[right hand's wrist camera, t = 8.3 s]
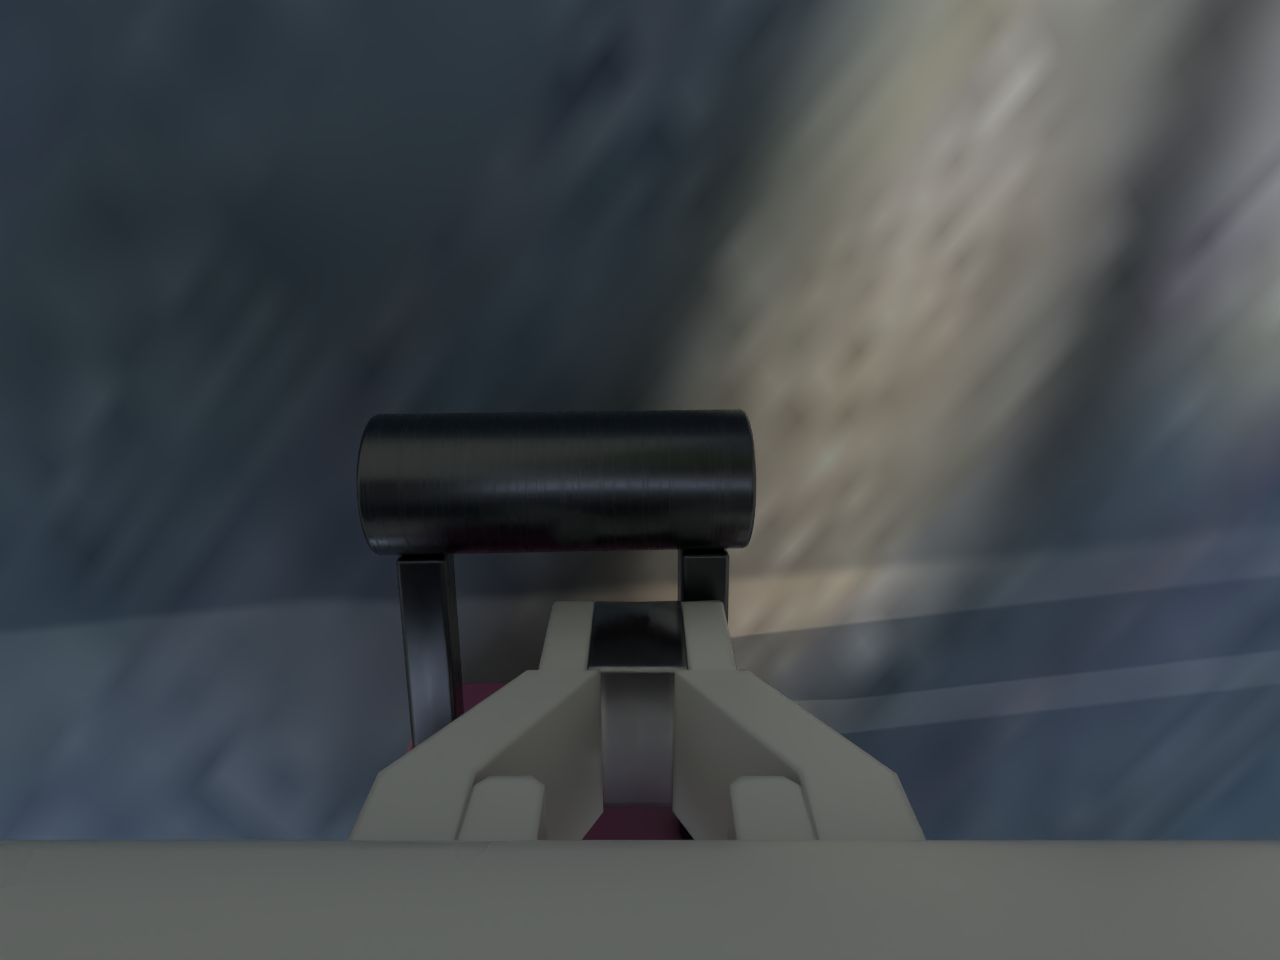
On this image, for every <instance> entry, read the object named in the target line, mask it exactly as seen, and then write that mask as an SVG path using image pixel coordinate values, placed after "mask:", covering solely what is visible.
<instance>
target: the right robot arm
mask: <svg viewBox="0 0 1280 960" xmlns="http://www.w3.org/2000/svg"><path fill="white" fill-rule="evenodd" d="M612 807H663V808H672V811H673V812H674V814H675V815H676V816H677V818H678V819H679V820H680V822H681V823H682V824H683V826H684V827H685V828H686V830H687V831H688V832H689V834H690V835H691V836H692V838H693V839H694V840H582V839H583V838H584V836H585V835H586V834H587V832H588V831H589V830H590V828H591V827H592V826H593V825H594V823H595V822H596V821H597V819H598V818H599V817H600V815H601V814H602V813H603V808H612ZM0 960H1280V840H926V839H925V836H924V834H923V832H922V830H921V827H920V825H919V823H918V821H917V818H916V816H915V814H914V812H913V809H912V807H911V805H910V803H909V800H908V798H907V796H906V794H905V791H904V789H903V787H902V785H901V782H900V780H899V778H898V776H897V774H896V773H895V772H894V771H892V770H891V769H889V768H888V767H886V766H885V765H883V764H882V763H881V762H879V761H878V760H876V759H875V758H873V757H872V756H871V755H869V754H868V753H866V752H865V751H863V750H862V749H861V748H859V747H858V746H856V745H855V744H853V743H852V742H851V741H849V740H848V739H846V738H845V737H843V736H842V735H841V734H839V733H838V732H836V731H835V730H833V729H832V728H830V727H829V726H828V725H826V724H825V723H823V722H822V721H820V720H819V719H818V718H816V717H815V716H813V715H812V714H810V713H809V712H808V711H806V710H805V709H803V708H802V707H800V706H799V705H798V704H796V703H795V702H793V701H792V700H790V699H789V698H788V697H786V696H785V695H783V694H782V693H780V692H779V691H777V690H776V689H775V688H773V687H772V686H770V685H769V684H767V683H766V682H765V681H763V680H762V679H760V678H759V677H757V676H756V675H755V674H753V673H752V672H750V671H749V670H737V668H736V663H735V658H734V653H733V649H732V644H731V639H730V634H729V630H728V625H727V620H726V615H725V611H724V606H723V603H722V602H721V601H720V600H710V601H689V602H681V601H657V602H614V601H596V602H595V603H594V601H593V600H583V601H556V602H555V603H554V604H553V605H552V609H551V614H550V619H549V623H548V628H547V632H546V637H545V642H544V646H543V651H542V655H541V660H540V665H539V669H538V670H527V671H525V672H524V673H522V674H521V675H519V676H518V677H516V678H515V679H513V680H512V681H511V682H509V683H508V684H506V685H505V686H503V687H502V688H500V689H499V690H498V691H496V692H495V693H493V694H492V695H490V696H489V697H487V698H486V699H484V700H483V701H482V702H480V703H479V704H477V705H476V706H474V707H473V708H471V709H470V710H468V711H467V712H466V713H464V714H463V715H461V716H460V717H458V718H457V719H455V720H454V721H453V722H451V723H450V724H448V725H447V726H445V727H444V728H442V729H441V730H439V731H438V732H437V733H435V734H434V735H432V736H431V737H429V738H428V739H426V740H425V741H423V742H422V743H421V744H419V745H418V746H416V747H415V748H413V749H412V750H410V751H409V752H407V753H406V754H405V755H403V756H402V757H400V758H399V759H397V760H396V761H394V762H393V763H392V764H390V765H389V766H387V767H386V768H384V769H383V770H381V771H380V772H378V775H377V777H376V779H375V781H374V783H373V785H372V788H371V790H370V792H369V794H368V796H367V798H366V801H365V803H364V805H363V807H362V809H361V811H360V814H359V816H358V818H357V820H356V822H355V824H354V827H353V829H352V831H351V833H350V835H349V837H348V840H0Z"/></svg>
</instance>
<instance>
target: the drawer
mask: <svg viewBox="0 0 1280 960" xmlns="http://www.w3.org/2000/svg"><path fill="white" fill-rule="evenodd" d="M357 499H358V509H359V515H360V521H361V525H362V529H363V532H364V536H365V538H366V541H367V543H368V545H369V547H370V548H371V549H372V551H373V552H375V553H377V554H379V555H400V557H399V558H398V560H397V563H396V564H397V575H398V587H399V598H400V609H401V621H402V632H403V643H404V655H405V666H406V678H407V689H408V700H409V712H410V723H411V734H412V742H411V744H410V747H409V749H408V751H407V752H409V751H410V750H412V749H413V748H415V747H416V746H418V745H419V744H421V743H422V742H423V741H425V740H426V739H428V738H429V737H431V736H432V735H434V734H435V733H437V732H438V731H439V730H441V729H442V728H444V727H445V726H447V725H448V724H450V723H451V722H453V721H454V720H455V719H457V718H458V717H460V716H461V715H463V714H464V713H466V712H467V711H468V710H470V709H471V708H473V707H474V706H476V705H477V704H479V703H480V702H482V701H483V700H484V699H486V698H487V697H489V696H490V695H492V694H493V693H495V692H496V691H498V690H499V689H500V688H502V687H503V686H505V685H506V684H508V683H509V682H501V683H462V675H461V660H460V646H459V631H458V617H457V602H456V588H455V573H454V559H453V554H467V553H519V552H572V551H624V550H676V549H678V601H681V602H689V601H710V600H720V601H721V602H722V603H723V606H724V611H725V615H726V620H727V625H728V591H729V555H728V552H727V550H726V549H729V548H744V547H746V546H747V545H748V543H749V541H750V538H751V535H752V531H753V525H754V517H755V505H756V464H755V451H754V442H753V435H752V430H751V426H750V422H749V419H748V417H747V414H746V413H745V412H744V411H742V410H667V411H590V412H512V413H435V414H378V415H376V416H373V417H372V418H371V419H370V420H369V422H368V423H367V425H366V427H365V430H364V432H363V436H362V439H361V444H360V449H359V455H358V464H357ZM582 840H694V839H693V838H692V836H691V835H690V834H689V832H688V831H687V830H686V828H685V827H684V826H683V824H682V823H681V822H680V820H679V819H678V818H677V816H676V815H675V814H674V812H673V811H672V808H663V807H612V808H603V813H602V814H601V815H600V817H599V818H598V819H597V821H596V822H595V823H594V825H593V826H592V827H591V828H590V830H589V831H588V832H587V834H586V835H585V836H584V838H583V839H582Z"/></svg>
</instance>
